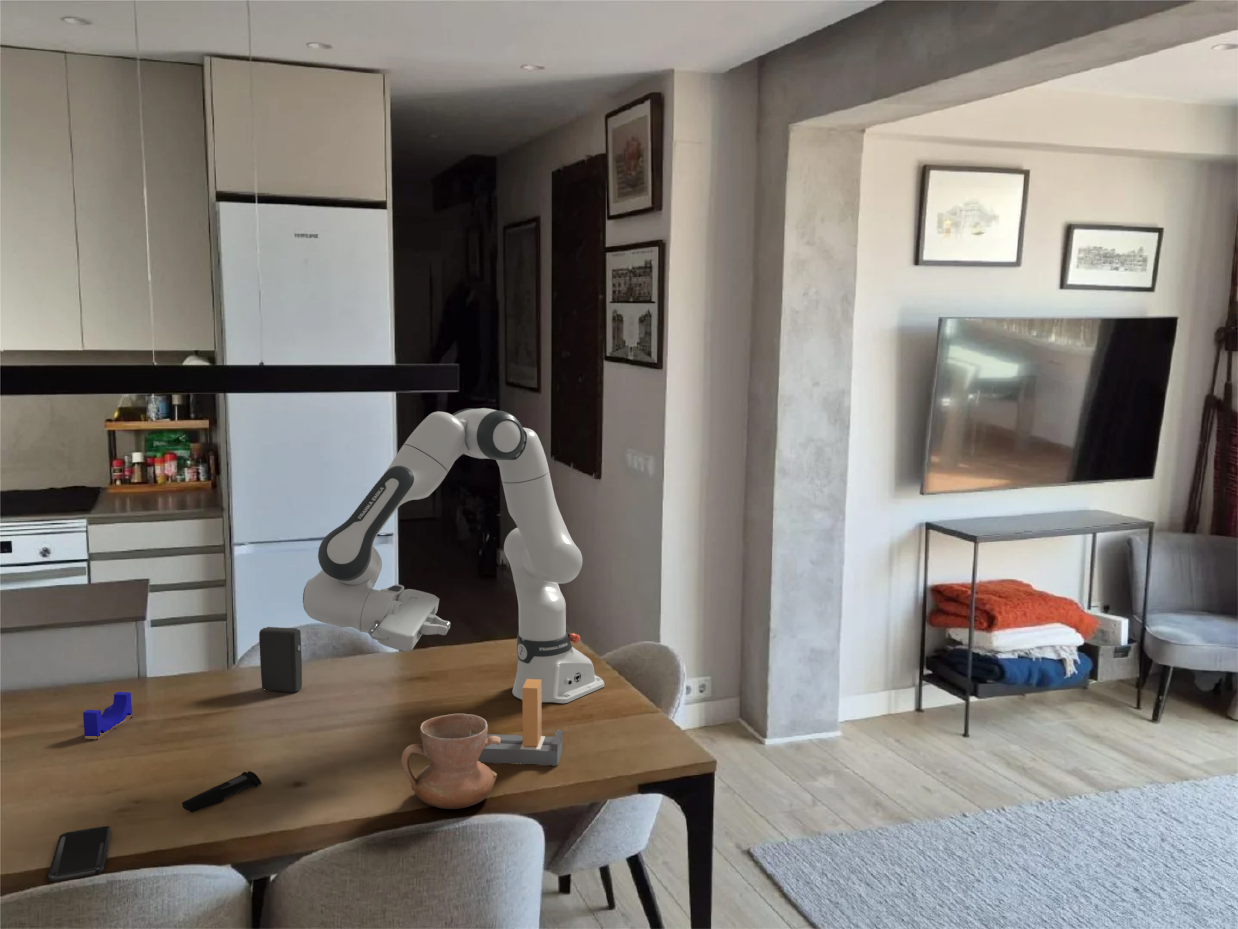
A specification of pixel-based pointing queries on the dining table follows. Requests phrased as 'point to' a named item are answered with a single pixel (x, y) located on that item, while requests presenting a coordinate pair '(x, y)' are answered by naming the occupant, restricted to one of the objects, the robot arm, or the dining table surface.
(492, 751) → the switch track
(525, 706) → the switch tab
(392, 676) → the dining table surface
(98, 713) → the blue cradle holder
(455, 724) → the ceramic jug
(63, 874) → the phone
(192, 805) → the electric trimmer
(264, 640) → the dark grey upright block
